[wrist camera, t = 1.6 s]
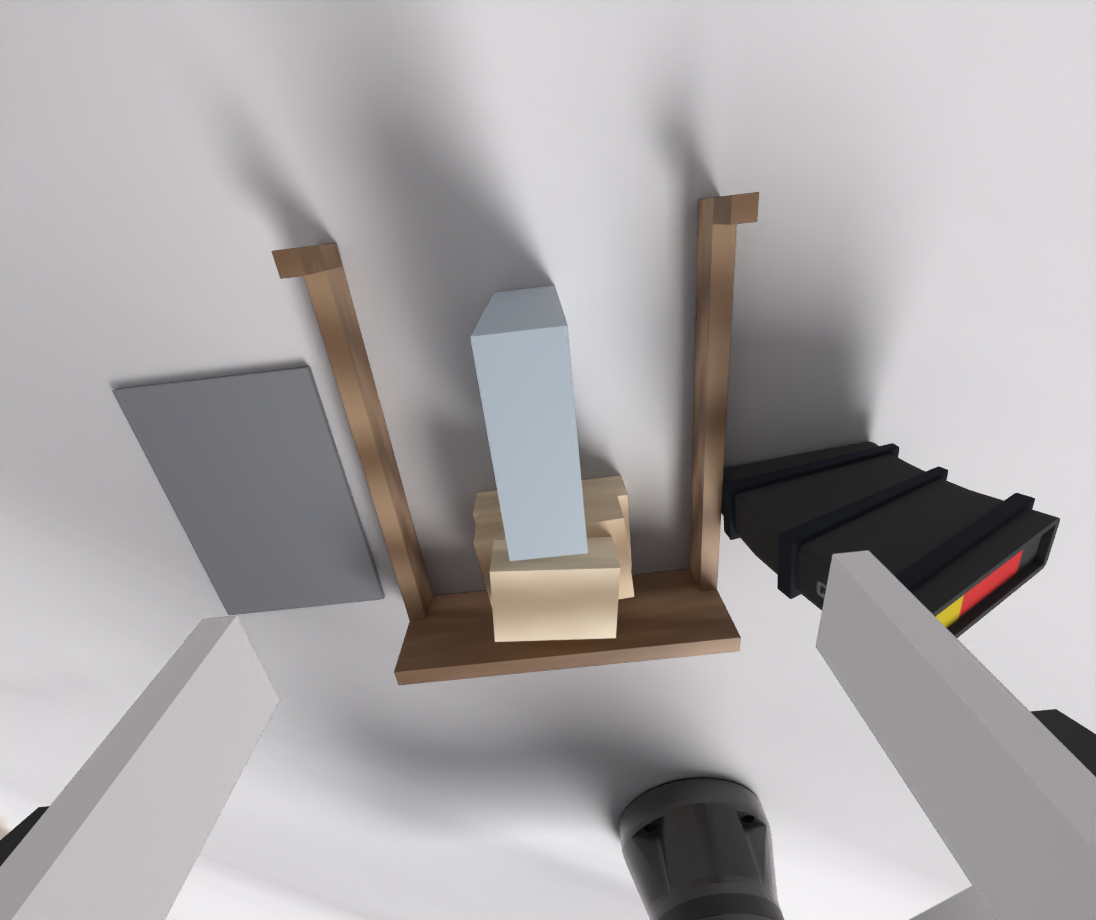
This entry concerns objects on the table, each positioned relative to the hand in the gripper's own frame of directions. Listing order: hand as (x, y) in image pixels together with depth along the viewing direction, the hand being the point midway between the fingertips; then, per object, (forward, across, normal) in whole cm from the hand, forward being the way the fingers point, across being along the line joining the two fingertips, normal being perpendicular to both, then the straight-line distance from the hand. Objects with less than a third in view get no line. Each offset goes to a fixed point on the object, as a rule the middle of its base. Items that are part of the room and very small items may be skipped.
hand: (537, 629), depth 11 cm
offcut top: (+16, 0, +11) cm, 19 cm away
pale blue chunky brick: (+21, 0, 0) cm, 21 cm away
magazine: (+22, -18, +9) cm, 29 cm away
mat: (+21, +20, +7) cm, 30 cm away
